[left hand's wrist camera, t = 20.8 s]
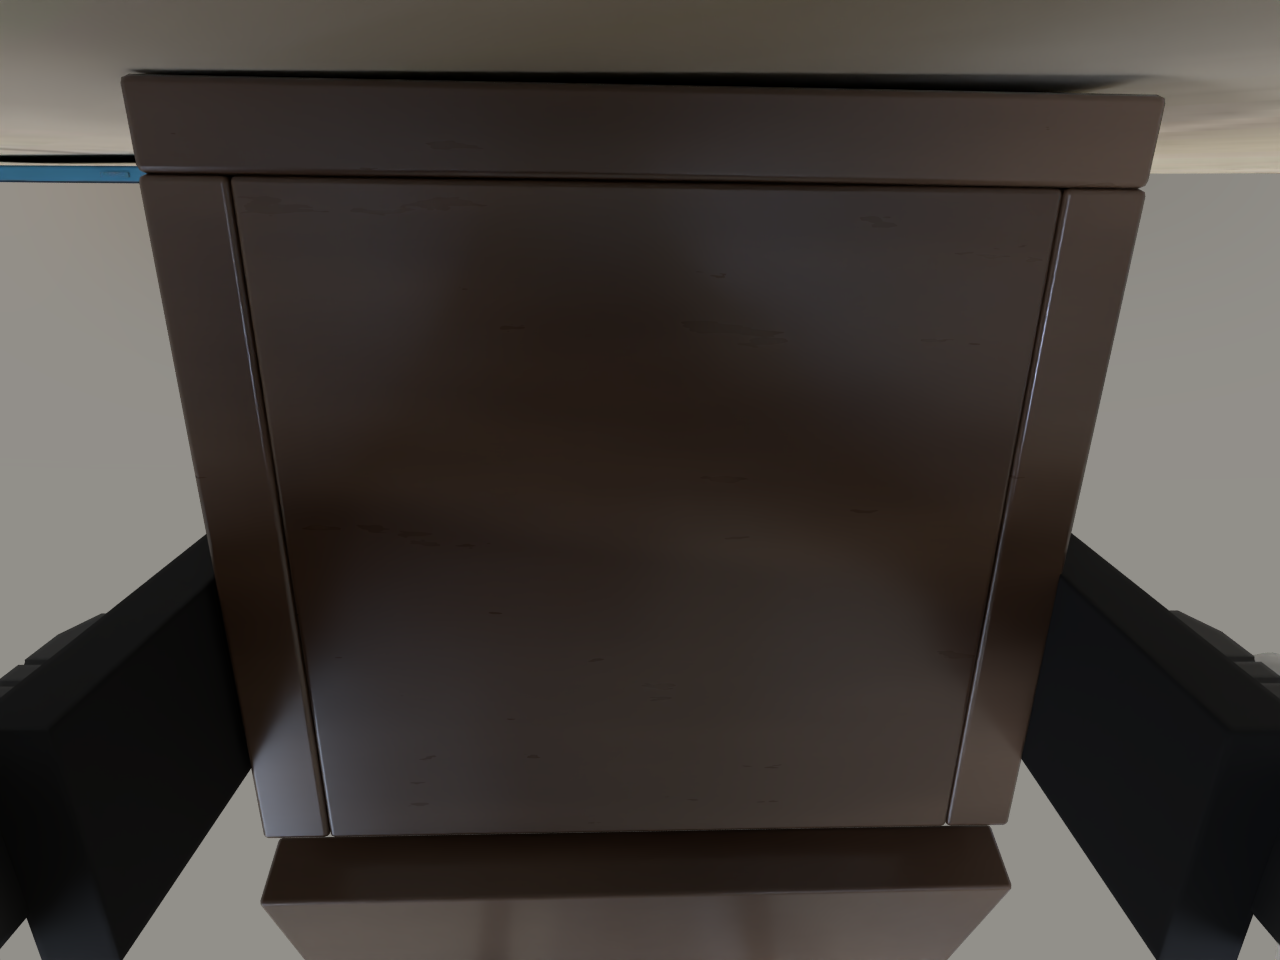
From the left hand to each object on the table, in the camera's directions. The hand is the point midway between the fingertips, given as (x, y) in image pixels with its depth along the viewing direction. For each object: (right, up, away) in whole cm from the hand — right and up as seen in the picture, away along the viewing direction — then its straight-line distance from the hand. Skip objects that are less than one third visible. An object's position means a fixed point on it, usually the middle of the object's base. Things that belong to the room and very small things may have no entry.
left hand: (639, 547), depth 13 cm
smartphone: (-18, +13, +15) cm, 27 cm away
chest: (0, +7, 0) cm, 7 cm away
